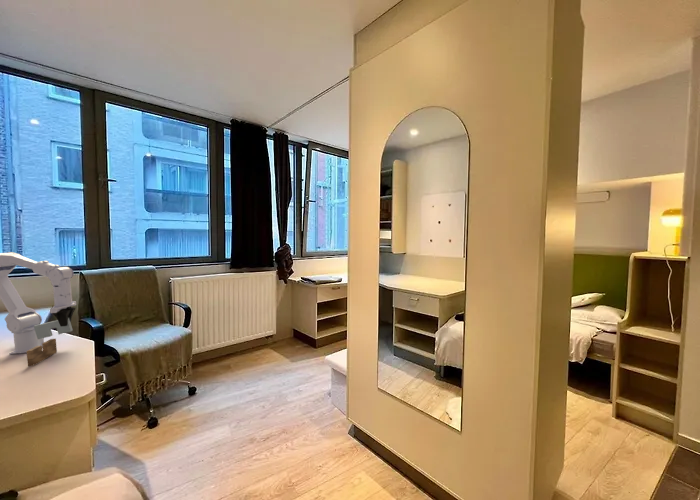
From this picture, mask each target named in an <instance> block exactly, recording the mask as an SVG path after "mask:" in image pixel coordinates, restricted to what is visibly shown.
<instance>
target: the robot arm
mask: <svg viewBox="0 0 700 500" xmlns="http://www.w3.org/2000/svg"><path fill="white" fill-rule="evenodd" d="M17 266H19V267H21V268H22V267H23V268H26V269H30V270H32V271H33V273H34V274H36V275H39V276H43V277H46V278H48V280H49V281H50V283H51V285H52V290H53V291H52V292H53V301H54V302H53V303H54V305H53V306H52V307H51V308H49V312H50V314H52V315H53V316H54V317H55V318H56V321H57V320H58V322H59V324H60V326H67V324H68V318H69V319H70V322H72V318H73V315H74V313H75V310H76V307H75V306H77V301H76V300H73V295H72V294H73V293H72V292H73V291H72V282H71V279H72V278H73V277H74V270H73V269H72V268H71V267H69V266H60V264H59V265H58V264H53V263H50V262H49V260H40V261H36V260H34V259H30V258H29V257H25V256H24V255H21V254H20V253H16V252H13V251H10V252H9V251H8V252H0V300H1V303H2V304H3V305H4V307H5V309H6V310H7V312H8V314H7V315H6V316H5V317H4V321H5V322H6V328H7V330H8V331H9V332H11V334H13V341H14V342H13V343H14V350H13V351H11V352H9V354H8V355H16V354H23V353H26V354H27V351H28V350H30V349H32V348H34V347H36V346H42V343H44V342H45V340H44V339H45V338H42V339H37V335H36V332H35V329H34V326H35V325H39V324H42V323H43V322H42V320H43V317H42V315H40V313H38V312H37V311H36V310H35V309H34V308H31V307H28V306H27V305H26V304H25V302H24V300H23V299H22V297H21V295H20V294H19V291H17V288H16V287H15V285H14V284H13V283H12V280H11V279H10V278H9V274H10V273H11V272H12V271H13V270H15V268H16V267H17Z"/></svg>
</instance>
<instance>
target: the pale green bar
mask: <svg viewBox="0 0 700 500" xmlns="http://www.w3.org/2000/svg"><path fill="white" fill-rule="evenodd" d="M71 322H72V321H71ZM71 322H70V319H69V318H68V324H67V326H60V324H59V322H58V320H57V319H56V320H52V321H48V322H44V323H43V322H42V323H41V324H39V325H35V326H34V329H35V332H36V335H37V339H42V338H44V339H45V338H49V337H52V336H54V334H53V332H52V330H53V329H56V331H57V334H58V335H62V334H66V333H67V334H68V333H70V332H73V331H74V330H73V329H74V328H73V327H72V323H71Z"/></svg>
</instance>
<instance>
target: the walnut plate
mask: <svg viewBox="0 0 700 500" xmlns="http://www.w3.org/2000/svg"><path fill="white" fill-rule="evenodd" d="M56 353H58V347H57V338H50V339H48V340H46V341H44V343H42V346H36V347H34V348H32V349H30V350H28V351H27V352H26V358H27V359H26V360H27V366H28V367H34V366H36V365H38V364H39V363H41V362H43V361H44V360H46V359H48V358H49V357H51V356H53V355H54V354H56Z"/></svg>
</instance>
